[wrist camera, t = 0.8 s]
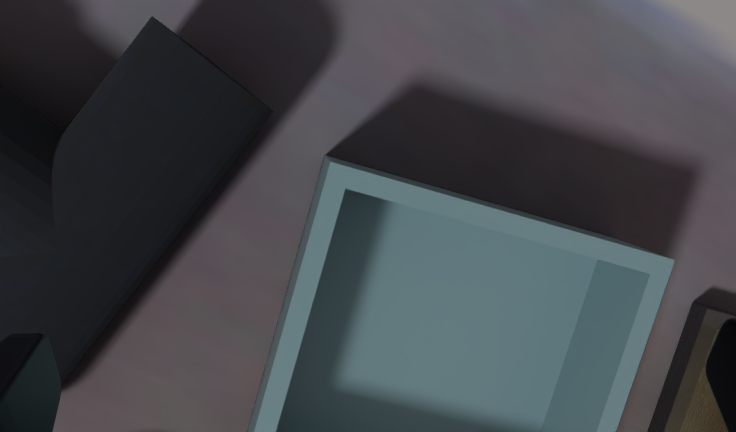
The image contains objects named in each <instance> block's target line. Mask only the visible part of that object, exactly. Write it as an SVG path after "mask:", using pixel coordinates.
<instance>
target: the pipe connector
mask: <svg viewBox="0 0 736 432" xmlns="http://www.w3.org/2000/svg"><path fill="white" fill-rule="evenodd" d="M272 112H273V111H272V110H271V109H270V108H269V107H267V106H266V105H265V104H264V103H262V102H261V101H260V100H259V99H257V98H256V97H255V96H254V95H252V94H251V93H250V92H249V91H247V90H246V89H245V88H244V87H242V86H241V85H240V84H239V83H237V82H236V81H235V80H234V79H232V78H231V77H230V76H228V75H227V74H226V73H225V72H223V71H222V70H221V69H220V68H218V67H217V66H216V65H215V64H213V63H212V62H211V61H209V60H208V59H207V58H206V57H204V56H203V55H202V54H201V53H199V52H198V51H197V50H195V49H194V48H193V47H192V46H190V45H189V44H188V43H186V42H185V41H184V40H183V39H181V38H180V37H179V36H177V35H176V34H175V33H174V32H172V31H171V30H170V29H168V28H167V27H166V26H165V25H163V24H162V23H161V22H159V21H158V20H157V19H155V18H154V17H151V18H150V19H149V21H148V22H147V23H146V25H145V26H144V27H143V29H142V30H141V31H140V33H139V34H138V35H137V37H136V38H135V39H134V40H133V42H132V43H131V44H130V46H129V47H128V48H127V50H126V51H125V52H124V54H123V55H122V56H121V58H120V59H119V60H118V62H117V63H116V64H115V66H114V67H113V68H112V69H111V71H110V72H109V73H108V75H107V76H106V77H105V79H104V80H103V81H102V83H101V84H100V85H99V87H98V88H97V89H96V91H95V92H94V93H93V95H92V96H91V97H90V98H89V100H88V101H87V102H86V104H85V105H84V106H83V108H82V109H81V110H80V112H79V113H78V114H77V116H76V117H75V118H74V120H73V121H72V122H71V123H70V125H69V126H68V127H67V129H66V130H65V131H64V132H63V131H61V130H60V129H59V128H57V127H56V126H54V125H53V124H52V123H50V122H49V121H48V120H46V119H45V118H43V117H42V116H41V115H39V114H38V113H37V112H35V111H34V110H32V109H31V108H30V107H28V106H27V105H26V104H24V103H23V102H21V101H20V100H19V99H17V98H16V97H15V96H13V95H12V94H10V93H9V92H8V91H6V90H5V89H4V88H2V87H1V86H0V341H1V340H3V339H4V338H6V337H7V336H9V335H11V334H21V333H42V334H44V335H46V336H47V337H48V339H49V341H50V344H51V347H52V351H53V355H54V358H55V362H56V366H57V369H58V373H59V377H60V381H61V384H62V383H63V382H64V381H65V379H66V378H67V377H68V375H69V374H70V373H71V372H72V370H73V369H74V368H75V366H76V365H77V364H78V363H79V361H80V360H81V359H82V357H83V356H84V355H85V353H86V352H87V351H88V350H89V348H90V347H91V346H92V344H93V343H94V342H95V341H96V339H97V338H98V337H99V335H100V334H101V333H102V332H103V330H104V329H105V328H106V326H107V325H108V324H109V323H110V321H111V320H112V319H113V317H114V316H115V315H116V314H117V312H118V311H119V310H120V308H121V307H122V306H123V304H124V303H125V302H126V301H127V299H128V298H129V297H130V295H131V294H132V293H133V292H134V290H135V289H136V288H137V286H138V285H139V284H140V283H141V281H142V280H143V279H144V277H145V276H146V275H147V274H148V272H149V271H150V270H151V268H152V267H153V266H154V265H155V263H156V262H157V261H158V259H159V258H160V257H161V256H162V254H163V253H164V252H165V250H166V249H167V248H168V246H169V245H170V244H171V243H172V241H173V240H174V239H175V237H176V236H177V235H178V234H179V232H180V231H181V230H182V228H183V227H184V226H185V225H186V223H187V222H188V221H189V219H190V218H191V217H192V216H193V214H194V213H195V212H196V210H197V209H198V208H199V207H200V205H201V204H202V203H203V201H204V200H205V199H206V197H207V196H208V195H209V194H210V192H211V191H212V190H213V188H214V187H215V186H216V185H217V183H218V182H219V181H220V179H221V178H222V177H223V176H224V174H225V173H226V172H227V170H228V169H229V168H230V167H231V165H232V164H233V163H234V161H235V160H236V159H237V158H238V156H239V155H240V154H241V152H242V151H243V150H244V148H245V147H246V146H247V145H248V143H249V142H250V141H251V139H252V138H253V137H254V136H255V134H256V133H257V132H258V130H259V129H260V128H261V127H262V125H263V124H264V123H265V121H266V120H267V119H268V118H269V116H270V115H271V114H272Z"/></svg>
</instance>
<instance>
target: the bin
mask: <svg viewBox="0 0 736 432" xmlns="http://www.w3.org/2000/svg"><path fill="white" fill-rule="evenodd" d="M674 261H675V260H674V259H671V258H668V257H665V256H663V255H660V254H657V253H654V252H652V251H649V250H646V249H643V248H641V247H638V246H635V245H632V244H630V243H627V242H624V241H621V240H618V239H616V238H613V237H609V236H606V235H602V234H599V233H595V232H592V231H588V230H585V229H581V228H578V227H574V226H571V225H567V224H564V223H560V222H557V221H553V220H550V219H546V218H543V217H539V216H536V215H532V214H529V213H525V212H522V211H518V210H515V209H511V208H508V207H504V206H501V205H497V204H494V203H490V202H487V201H483V200H480V199H476V198H473V197H469V196H466V195H462V194H459V193H455V192H452V191H448V190H445V189H442V188H438V187H435V186H431V185H428V184H424V183H421V182H417V181H414V180H410V179H407V178H403V177H400V176H396V175H393V174H389V173H386V172H382V171H379V170H375V169H372V168H368V167H365V166H361V165H358V164H354V163H351V162H347V161H344V160H340V159H337V158H333V157H330V156H326V155H325V156H324V160H323V164H322V167H321V171H320V174H319V178H318V181H317V185H316V188H315V192H314V195H313V199H312V203H311V206H310V210H309V213H308V217H307V220H306V224H305V227H304V231H303V235H302V238H301V242H300V245H299V249H298V252H297V256H296V259H295V263H294V267H293V270H292V274H291V277H290V281H289V284H288V288H287V291H286V295H285V298H284V302H283V306H282V309H281V313H280V316H279V320H278V323H277V327H276V330H275V334H274V338H273V341H272V345H271V348H270V352H269V355H268V359H267V362H266V366H265V369H264V373H263V377H262V380H261V384H260V387H259V391H258V394H257V398H256V401H255V405H254V409H253V412H252V416H251V419H250V423H249V426H248V430H247V432H616V430H617V427H618V424H619V421H620V418H621V415H622V412H623V410H624V407H625V404H626V401H627V398H628V395H629V392H630V389H631V386H632V383H633V381H634V378H635V375H636V372H637V369H638V366H639V363H640V360H641V357H642V354H643V351H644V349H645V346H646V343H647V340H648V337H649V334H650V331H651V328H652V325H653V322H654V320H655V317H656V314H657V311H658V308H659V305H660V302H661V299H662V296H663V293H664V290H665V288H666V285H667V282H668V279H669V276H670V273H671V270H672V267H673V264H674Z"/></svg>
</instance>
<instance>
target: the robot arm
mask: <svg viewBox="0 0 736 432" xmlns="http://www.w3.org/2000/svg"><path fill="white" fill-rule="evenodd" d="M705 369H706V376H707V380H708V382H709V385H710V387H711V390H712V392H713V395H714V397H715V400H716V402H717V405H718V407H719V410H720V412H721V415H722V417H723V420H724V422H725V425H726V427H727V429H728V432H736V318H730V319H727V320H726V321H725V322H724V323H722V325H721V327H720V329H719V332H718V334H717V336H716V339H715V341H714V343H713V346H712V348H711V350H710V353H709V355H708V357H707V360H706V366H705ZM60 395H61V381H60V377H59V373H58V369H57V366H56V362H55V358H54V355H53V351H52V347H51V344H50V341H49V339H48V337H47V336H46V335H44V334H42V333H21V334H11V335H9V336H7V337H6V338H4V339H3V340H1V341H0V432H52V431H53V427H54V423H55V418H56V414H57V410H58V405H59V401H60Z"/></svg>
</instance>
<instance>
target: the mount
mask: <svg viewBox="0 0 736 432" xmlns="http://www.w3.org/2000/svg"><path fill="white" fill-rule="evenodd" d="M730 318H736V314H734V313H730V312H727V311H723V310H719V309H716V308H712V307H709V306H705V305H701V304H698V303H694V302H693V303H692V306H691V309H690V312H689V315H688V318H687V321H686V323H685V326H684V329H683V332H682V335H681V338H680V341H679V343H678V346H677V349H676V352H675V355H674V358H673V361H672V363H671V366H670V369H669V372H668V375H667V378H666V381H665V383H664V386H663V389H662V392H661V395H660V398H659V401H658V403H657V406H656V409H655V412H654V415H653V418H652V421H651V423H650V426H649V429H648V432H680V430H681V428H682V425H683V422H684V419H685V416H686V413H687V411H688V408H689V405H690V402H691V399H692V397H693V394H694V391H695V388H696V385H697V382H698V380H699V377H700V374H701V371H702V368H703V366H704V363H705V360H706V357H707V354H708V352H709V349H710V346H711V343H712V340H713V337H714V335H715V332H716V329H720V327H721V325H722V323H724V322H725V321H726V320H727V319H730Z"/></svg>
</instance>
